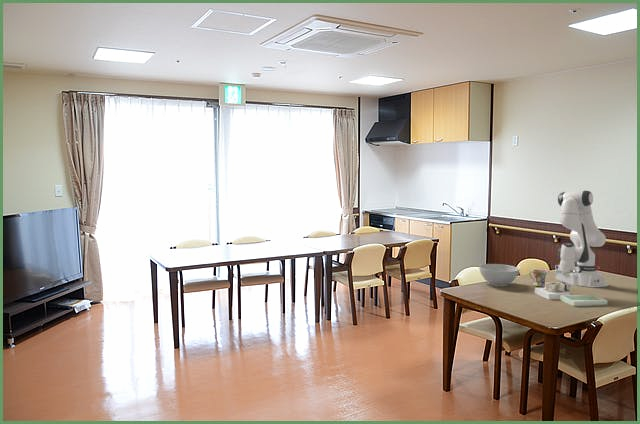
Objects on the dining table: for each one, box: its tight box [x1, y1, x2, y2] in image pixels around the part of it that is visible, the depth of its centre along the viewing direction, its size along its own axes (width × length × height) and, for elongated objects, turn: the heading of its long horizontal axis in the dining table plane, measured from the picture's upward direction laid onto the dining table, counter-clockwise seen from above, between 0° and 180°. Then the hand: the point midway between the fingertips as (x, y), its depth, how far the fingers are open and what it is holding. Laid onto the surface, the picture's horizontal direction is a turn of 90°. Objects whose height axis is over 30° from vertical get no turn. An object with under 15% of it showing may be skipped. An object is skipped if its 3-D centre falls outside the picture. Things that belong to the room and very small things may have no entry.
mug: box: [529, 269, 548, 288], centre depth 359 cm, size 12×9×11 cm
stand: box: [534, 287, 571, 301], centre depth 332 cm, size 15×16×4 cm
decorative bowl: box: [478, 263, 520, 288], centre depth 361 cm, size 27×27×12 cm
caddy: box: [544, 282, 571, 292], centre depth 332 cm, size 15×6×8 cm, turn 98°
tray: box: [559, 294, 608, 307], centre depth 317 cm, size 22×14×3 cm, turn 98°
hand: (565, 289), depth 333 cm, fingers closed on caddy
